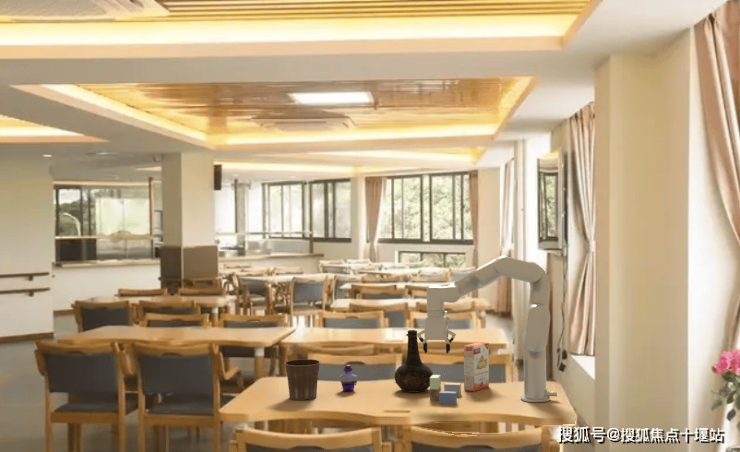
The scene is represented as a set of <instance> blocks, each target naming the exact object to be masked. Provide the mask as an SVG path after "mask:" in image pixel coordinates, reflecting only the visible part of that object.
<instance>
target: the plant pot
mask: <svg viewBox="0 0 740 452" xmlns="http://www.w3.org/2000/svg"><path fill="white" fill-rule="evenodd" d="M283 364H284V365H285V371H286V372H285V373H286V375H287V376H286V377H287V385H288V393H289V394H288V395H289V399H291V400H294V401H306V400H310V399H311V400H315V398H317V395H318V394H317V391H318V378H319V376H318V375H319V371H320V369H319V368H320V364H321V361H320V360H317V359H311V358H309V359H308V358H306V359H305V358H301V359H300V358H299V359H291V360H290V359H289V360H287V361H285V362H283ZM311 400H310V401H311Z"/></svg>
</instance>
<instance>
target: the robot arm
mask: <svg viewBox="0 0 740 452" xmlns="http://www.w3.org/2000/svg"><path fill="white" fill-rule="evenodd" d="M504 277H506V278H508V279H509V278H510V279H513V280H517V281H522V282H526V283H529V300H528V307H527V310H526V317H527V319H526V327H525V330H524V332H523V335H522V348H523V351H522V352H523V389H524V391H523V394H522V395H521V396H520V400H521V401H524V402H527V403H528V402H529V403H544V402H549V401H550V400H551V397H555V398H556V397H558V392H557V391H553V390H552V391H551V390H548V388H547V353H546V352H547V350H546V347H547V345H548V340H549V332H550V326H551V313H550V309H549V307H550V306H549V304H550V294H551V282H550V278H549V276H548V274H547V273H546V270H544V268H543V267H542V266H541V265H539V264H538V263H536V262H534V261H525V260H520V259H517V258H514V257H510V256H508V255H500V256H499V257H496V258H494V259H492V260H491V261H489V262H487V263H485V264H483V265H482V266H480V267H479V268H476V269H475V270H473V271H471V272H470V273H468V274H466V275H465V276H463V277H461V278H459V279H456V281H453V282H452V283H450V284H448V285H447V286H442V285H429V286H427V287H426V317H425V320H424V329H423V330H421V331H419V332H417V339H418V340H419V341H420V342H421V343H422V349H423V351H424V354H426V353H428V341H429V340H430V341H445V343H446V344H445V352H446V354H449V353H450V352H451V343H452V342H453V341H454V340H455V338H456V335H457V333H455V332H453V331H452V330H449V327H448V320H447V316H445V315H448V311H447V310H445V303H450V304H455V303H457V302H459V300H460V299H461V298H462V297H464V296H466V295H469V293H472V292H474V291H476V290H478V289H483V288H485V287H487V286H490V285H491V284H493V283H495V282H496V281H498V280H500V279H502V278H504ZM422 335H424V338H423V337H422ZM449 335H450V336H451V338H449Z"/></svg>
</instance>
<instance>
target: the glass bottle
mask: <svg viewBox="0 0 740 452" xmlns="http://www.w3.org/2000/svg"><path fill="white" fill-rule="evenodd" d="M417 334H418V330H415V329H409V330H407V334H405V336H407V354H406V361H405V363H404V364H402V365H400V366H398V367H397V369H396V370H395V372H394V381H395V383H396V385H397V386H398V387H399V389H401V390H402V391H403V392H406V393H421V392H424V391H426V390H428V389H430V377H431V376H432V375H434V374H433V370H432V369H431V368H430V367H429V366H428V365H426V364H424V363H423V361H422V359H421V356H420V351H419V344H418V336H417Z"/></svg>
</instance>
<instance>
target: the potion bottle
mask: <svg viewBox="0 0 740 452" xmlns="http://www.w3.org/2000/svg"><path fill="white" fill-rule="evenodd" d="M343 372H344V374H341V375H339V379H340V380H339V381H340V384H341V386H342V392H344V393H352V392H354V391H355V386H356V385H357V383H358V380H357V377H358V375H356V374H353V373H352V372H353V367H352V365H351V364H344V367H343Z"/></svg>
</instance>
